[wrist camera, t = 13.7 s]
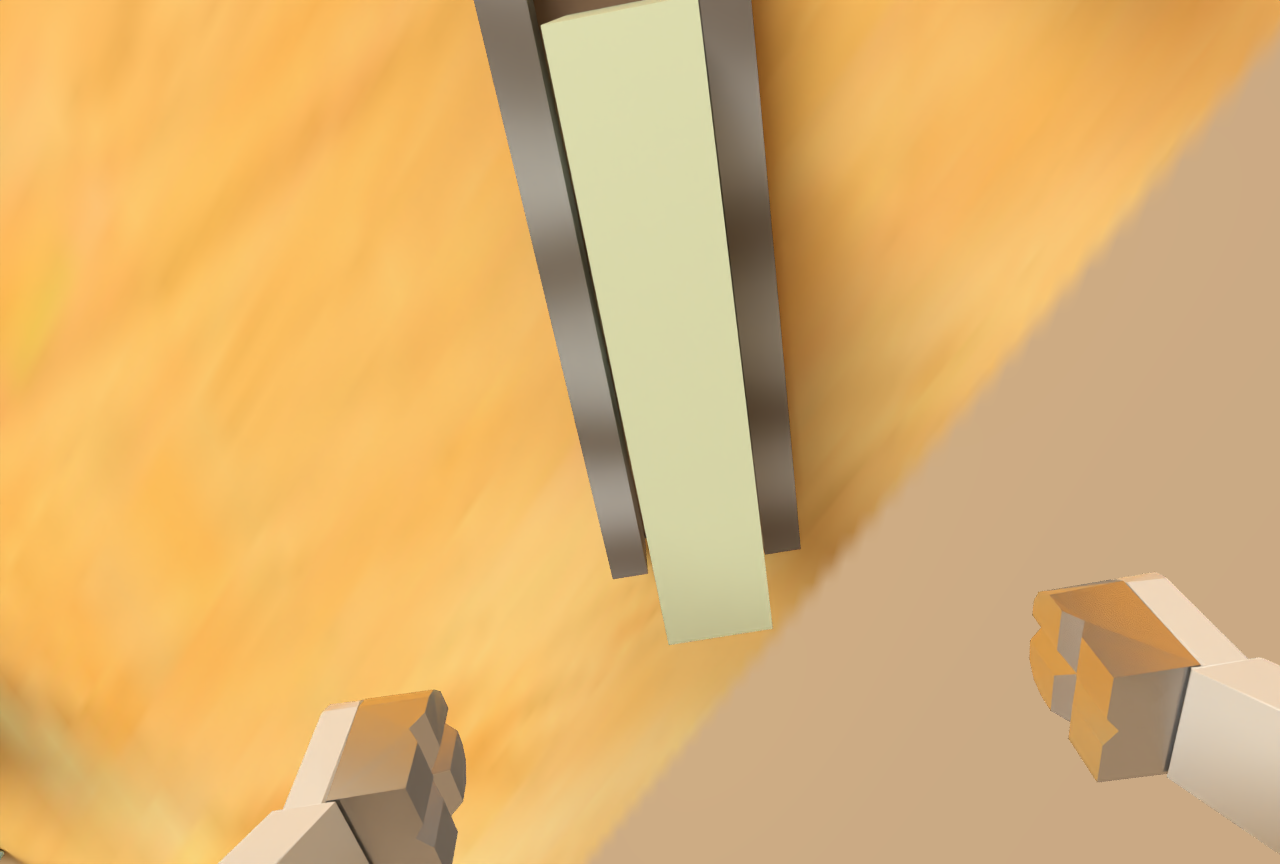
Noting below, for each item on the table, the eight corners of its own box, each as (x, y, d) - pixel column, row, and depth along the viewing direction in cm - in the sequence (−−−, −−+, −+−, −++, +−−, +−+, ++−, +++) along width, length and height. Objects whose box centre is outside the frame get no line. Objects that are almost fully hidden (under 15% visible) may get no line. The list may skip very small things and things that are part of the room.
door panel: (718, 428, 33) (772, 628, 22) (647, 440, 33) (668, 645, 23) (658, -3, 25) (697, -5, 15) (566, 14, 25) (540, 25, 15)
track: (781, 496, 37) (800, 548, 33) (612, 524, 37) (612, 579, 33) (711, -205, 24) (729, -240, 21) (456, -152, 24) (431, -177, 21)
